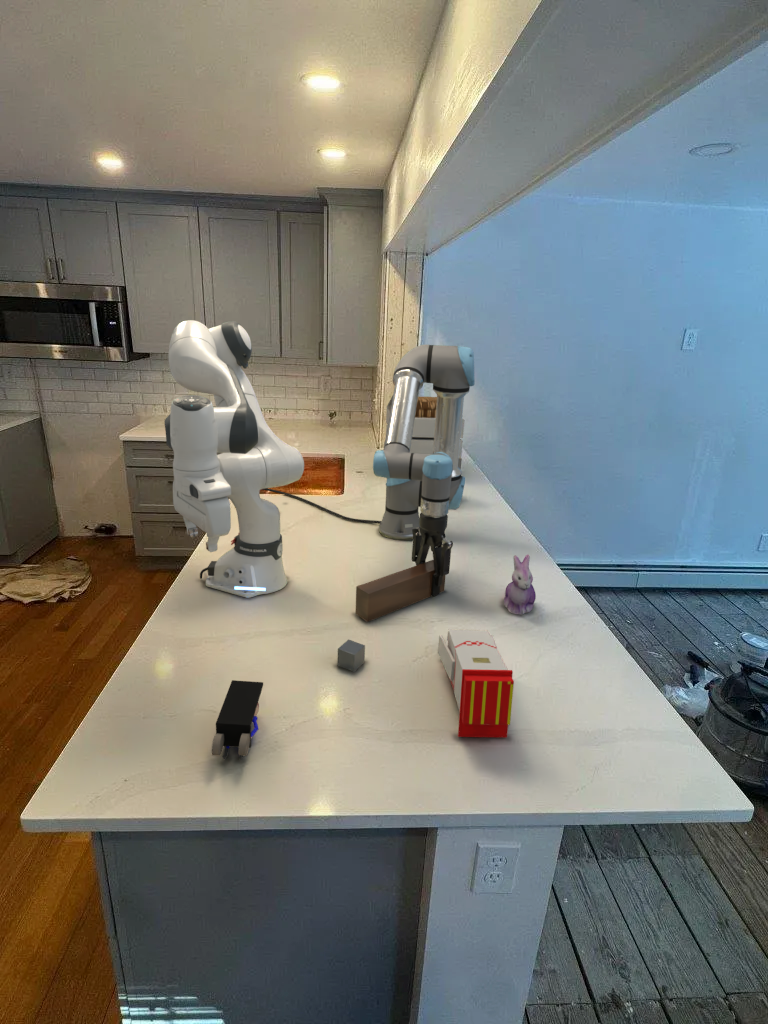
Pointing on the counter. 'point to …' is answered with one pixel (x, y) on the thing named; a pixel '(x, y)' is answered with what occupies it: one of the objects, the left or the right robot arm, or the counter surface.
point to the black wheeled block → (237, 718)
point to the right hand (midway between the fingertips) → (427, 590)
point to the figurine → (520, 588)
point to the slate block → (351, 655)
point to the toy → (478, 682)
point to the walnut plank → (395, 591)
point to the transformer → (425, 427)
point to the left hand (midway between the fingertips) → (202, 543)
